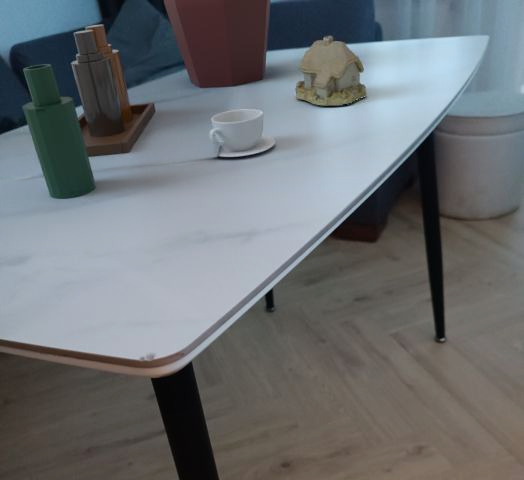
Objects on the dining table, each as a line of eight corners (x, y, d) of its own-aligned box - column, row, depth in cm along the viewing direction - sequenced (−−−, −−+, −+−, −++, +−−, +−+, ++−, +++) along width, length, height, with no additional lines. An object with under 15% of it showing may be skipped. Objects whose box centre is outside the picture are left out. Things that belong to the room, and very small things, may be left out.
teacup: (245, 135, 92) (241, 103, 89) (289, 145, 86) (287, 110, 83) (193, 153, 87) (187, 120, 84) (236, 164, 80) (231, 129, 78)
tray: (47, 166, 89) (42, 150, 88) (89, 122, 110) (86, 109, 109) (129, 158, 88) (126, 142, 87) (156, 115, 109) (153, 102, 108)
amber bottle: (96, 127, 103) (71, 30, 95) (103, 118, 108) (81, 25, 100) (129, 123, 103) (108, 26, 94) (136, 115, 108) (116, 21, 99)
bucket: (302, 72, 130) (294, -68, 115) (230, 95, 117) (211, -58, 103) (225, 67, 145) (210, -57, 130) (154, 87, 132) (129, -48, 118)
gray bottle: (85, 138, 97) (58, 36, 89) (94, 128, 102) (69, 31, 94) (121, 134, 97) (97, 31, 88) (128, 125, 102) (106, 26, 93)
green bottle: (43, 200, 76) (3, 74, 68) (57, 184, 81) (21, 65, 73) (89, 196, 76) (54, 68, 67) (100, 180, 81) (69, 59, 72)
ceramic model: (380, 95, 105) (381, 31, 99) (335, 110, 99) (333, 43, 94) (324, 88, 114) (321, 29, 108) (280, 101, 109) (275, 40, 103)
